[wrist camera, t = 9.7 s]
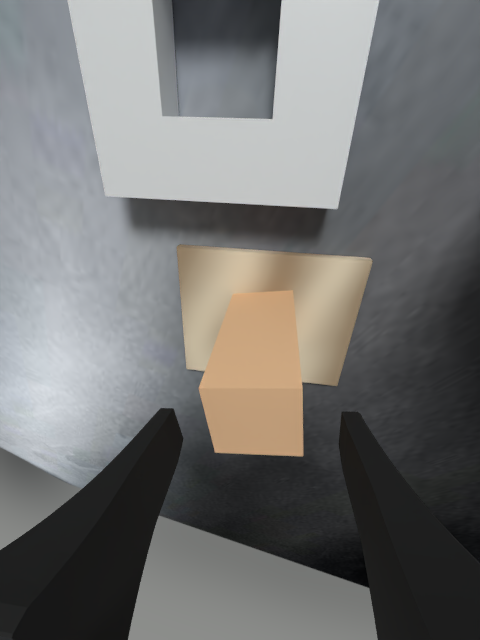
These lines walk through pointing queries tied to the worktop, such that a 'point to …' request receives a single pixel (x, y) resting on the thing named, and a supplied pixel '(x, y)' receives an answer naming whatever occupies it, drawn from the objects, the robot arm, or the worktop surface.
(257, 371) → the plug
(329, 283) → the board
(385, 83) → the worktop surface
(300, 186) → the white square socket board
